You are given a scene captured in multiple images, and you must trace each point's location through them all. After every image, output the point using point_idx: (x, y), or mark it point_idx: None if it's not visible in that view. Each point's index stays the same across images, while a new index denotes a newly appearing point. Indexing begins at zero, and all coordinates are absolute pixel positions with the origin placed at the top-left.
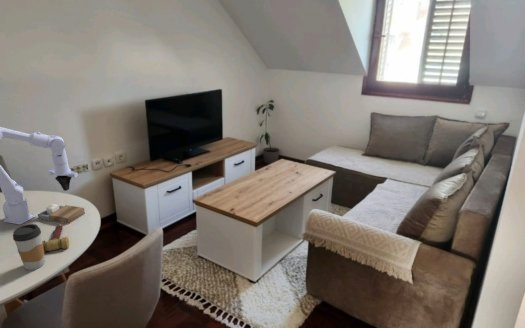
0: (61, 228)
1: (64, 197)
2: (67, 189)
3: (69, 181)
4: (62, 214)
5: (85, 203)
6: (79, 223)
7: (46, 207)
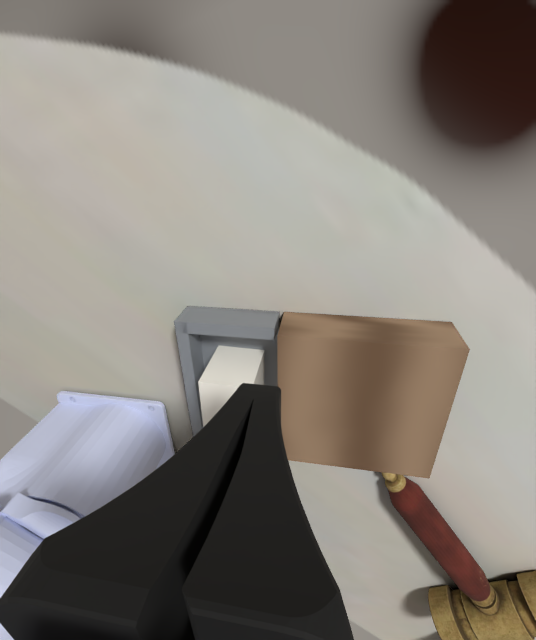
0: (433, 512)
1: (56, 105)
2: (280, 417)
3: (289, 491)
4: (360, 447)
5: (340, 159)
6: (487, 431)
7: None
